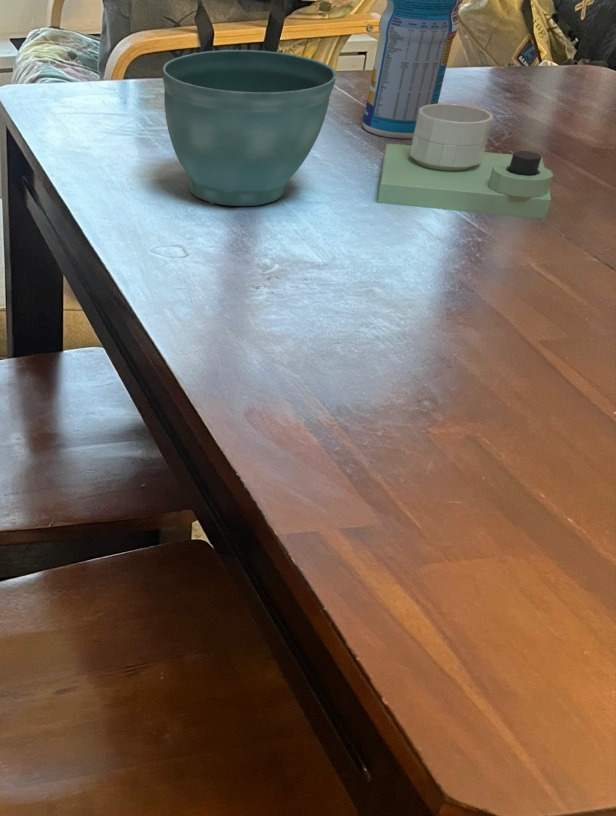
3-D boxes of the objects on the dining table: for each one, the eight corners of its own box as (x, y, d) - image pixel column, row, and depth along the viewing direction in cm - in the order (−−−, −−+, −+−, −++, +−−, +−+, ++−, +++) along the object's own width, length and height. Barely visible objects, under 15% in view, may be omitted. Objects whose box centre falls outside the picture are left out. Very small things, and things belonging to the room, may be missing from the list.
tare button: (534, 171, 102) (540, 152, 101) (536, 180, 100) (542, 160, 99) (507, 169, 102) (512, 149, 101) (508, 177, 101) (513, 157, 99)
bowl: (479, 155, 110) (492, 106, 107) (481, 175, 105) (494, 125, 102) (409, 148, 111) (419, 100, 108) (407, 169, 106) (418, 119, 103)
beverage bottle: (388, 144, 119) (433, -77, 105) (345, 124, 124) (382, -88, 110) (448, 136, 121) (500, -80, 107) (403, 117, 127) (447, -91, 113)
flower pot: (174, 223, 99) (185, 93, 91) (140, 170, 110) (147, 50, 103) (338, 217, 101) (361, 89, 93) (288, 165, 112) (305, 47, 105)
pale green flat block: (536, 176, 111) (547, 140, 109) (545, 221, 101) (557, 182, 98) (382, 162, 114) (390, 126, 111) (376, 204, 104) (384, 166, 101)
